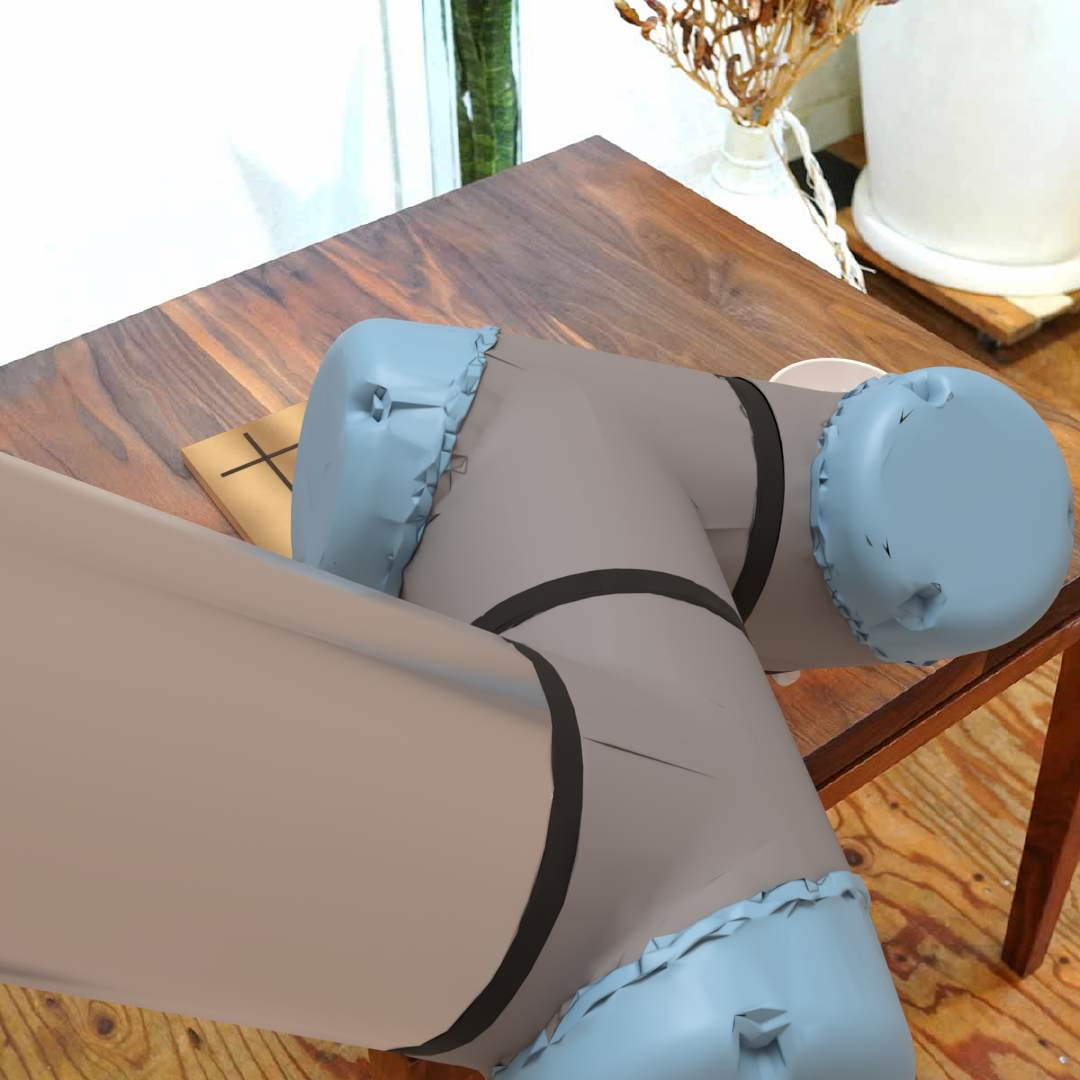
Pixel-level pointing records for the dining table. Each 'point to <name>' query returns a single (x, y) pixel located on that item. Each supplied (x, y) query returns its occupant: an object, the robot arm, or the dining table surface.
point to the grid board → (253, 475)
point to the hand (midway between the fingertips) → (486, 623)
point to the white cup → (827, 374)
